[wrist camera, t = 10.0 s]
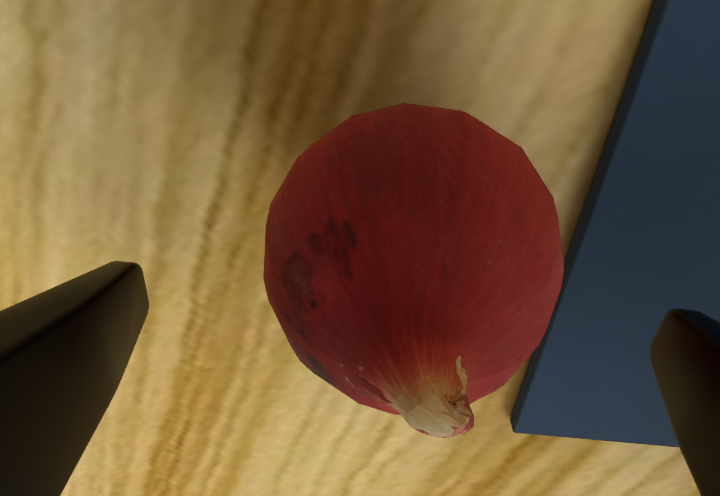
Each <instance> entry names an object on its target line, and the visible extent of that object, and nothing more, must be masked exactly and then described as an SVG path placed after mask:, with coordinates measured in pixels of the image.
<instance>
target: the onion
mask: <svg viewBox="0 0 720 496" xmlns="http://www.w3.org/2000/svg"><path fill="white" fill-rule="evenodd" d="M563 274H564V263H563V254H562V246H561V238H560V230H559V222H558V216H557V212H556V207H555V203H554V199H553V196H552V195H551V193H550V192H549V190H548V188H547V187H546V185H545V184H544V182H543V181H542V179H541V177H540V176H539V174H538V173H537V171H536V169H535V168H534V166H533V165H532V163H531V162H530V160H529V158H528V157H527V155H526V154H525V152H524V151H523V149H522V148H521V147H520V146H518V145H517V144H515V143H513V142H512V141H510V140H509V139H507V138H506V137H504V136H503V135H501V134H499V133H498V132H496V131H495V130H493V129H492V128H490V127H489V126H487V125H485V124H484V123H482V122H481V121H479V120H478V119H476V118H475V117H473V116H471V115H470V114H468V113H466V112H463V111H459V110H451V109H444V108H437V107H429V106H422V105H414V104H407V103H403V104H398V105H394V106H390V107H386V108H382V109H378V110H374V111H370V112H366V113H362V114H358V115H354V116H351V117H350V118H348V119H347V120H346V121H344V122H343V123H341V124H340V125H338V126H337V127H336V128H334V129H333V130H331V131H330V132H328V133H327V134H326V135H324V136H323V137H321V138H320V139H319V140H317V141H316V142H314V143H313V144H311V145H310V146H309V147H308V148H307V149H306V150H305V151H304V152H303V153H302V154H301V155H300V156H298V158H297V159H296V161H295V163H294V164H293V166H292V168H291V170H290V171H289V173H288V175H287V176H286V178H285V180H284V182H283V183H282V185H281V187H280V189H279V190H278V192H277V194H276V195H275V197H274V199H273V201H272V202H271V204H270V209H269V214H268V218H267V223H266V236H265V258H264V283H265V287H266V291H267V295H268V300H269V302H270V304H271V306H272V308H273V310H274V312H275V314H276V316H277V319H278V321H279V323H280V325H281V327H282V329H283V331H284V333H285V335H286V337H287V339H288V341H289V343H290V345H291V347H292V349H293V350H294V352H295V353H296V355H297V357H298V358H299V360H300V361H301V362H302V363H303V364H304V365H305V366H306V367H308V368H309V369H310V370H311V371H312V372H313V373H314V374H316V375H317V376H319V377H320V378H322V379H323V380H325V381H326V382H328V383H329V384H331V385H332V386H334V387H335V388H337V389H338V390H340V391H341V392H343V393H344V394H346V395H347V396H348V397H350V398H351V399H353V400H354V401H356V402H357V403H359V404H362V405H366V406H369V407H372V408H375V409H378V410H381V411H385V412H388V413H391V414H398V415H402V417H403V418H404V419H405V420H406V421H407V423H408V424H409V425H410V426H411V427H412V428H414V429H416V430H418V431H420V432H421V433H425V434H428V435H431V436H435V437H440V438H446V437H452V436H457V435H459V434H463V435H465V434H466V433H467V432H468V431H469V430H470V429H471V428H472V427H473V425H474V415H473V413H472V410H471V408H470V406H469V404H470V403H472V402H474V401H476V400H478V399H480V398H482V397H484V396H486V395H488V394H490V393H492V392H494V391H496V390H497V389H498V388H500V387H501V386H503V385H504V384H505V383H506V382H507V381H508V379H509V378H510V377H511V376H512V375H513V374H514V373H515V372H516V370H517V369H518V368H519V367H520V366H521V365H522V364H523V363H524V361H525V360H526V359H527V358H528V357H529V356H530V355H531V354H532V352H533V351H534V350H535V349H536V348H537V347H538V346H539V344H540V342H541V340H542V338H543V336H544V334H545V332H546V329H547V327H548V324H549V321H550V318H551V315H552V312H553V310H554V307H555V304H556V301H557V298H558V295H559V293H560V290H561V285H562V279H563Z"/></svg>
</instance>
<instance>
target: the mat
mask: <svg viewBox="0 0 720 496" xmlns="http://www.w3.org/2000/svg"><path fill="white" fill-rule="evenodd" d="M672 309H686V310H696V311H699V312H702V313H703V314H705V315H707V316H709V317H711V318H712V319H714V320H716V321H718V322H720V0H655V2H654V4H653V7H652V10H651V13H650V16H649V19H648V22H647V25H646V28H645V31H644V33H643V36H642V39H641V42H640V45H639V48H638V51H637V54H636V57H635V59H634V62H633V65H632V68H631V71H630V74H629V77H628V80H627V83H626V86H625V88H624V91H623V94H622V97H621V100H620V103H619V106H618V109H617V112H616V114H615V117H614V120H613V123H612V126H611V129H610V132H609V135H608V138H607V141H606V143H605V146H604V149H603V152H602V155H601V158H600V161H599V164H598V167H597V170H596V172H595V175H594V178H593V181H592V184H591V187H590V190H589V193H588V196H587V198H586V201H585V204H584V207H583V210H582V213H581V216H580V219H579V222H578V225H577V227H576V230H575V233H574V236H573V239H572V242H571V245H570V248H569V251H568V253H567V256H566V259H565V262H564V274H563V279H562V285H561V290H560V293H559V295H558V298H557V301H556V304H555V307H554V310H553V312H552V315H551V318H550V321H549V324H548V327H547V329H546V332H545V334H544V336H543V338H542V340H541V342H540V344H539V346H538V347H537V348H536V349H535V350H534V352H533V355H532V358H531V361H530V364H529V366H528V369H527V372H526V375H525V378H524V381H523V384H522V387H521V390H520V392H519V395H518V398H517V401H516V404H515V407H514V410H513V413H512V416H511V419H510V421H511V425H512V429H513V432H515V433H525V434H537V435H548V436H559V437H570V438H581V439H593V440H604V441H615V442H626V443H637V444H649V445H660V446H671V447H679V444H678V442H677V439H676V437H675V434H674V431H673V428H672V426H671V423H670V419H669V416H668V413H667V410H666V407H665V404H664V401H663V398H662V395H661V392H660V389H659V386H658V383H657V380H656V377H655V374H654V371H653V367H652V364H651V361H650V357H649V348H650V344H651V342H652V340H653V338H654V336H655V334H656V332H657V330H658V328H659V326H660V324H661V322H662V320H663V318H664V316H665V314H666V313H667V312H668V311H669V310H672Z"/></svg>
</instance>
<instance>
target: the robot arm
mask: <svg viewBox="0 0 720 496" xmlns="http://www.w3.org/2000/svg"><path fill="white" fill-rule="evenodd" d="M148 309H149V300H148V295H147V290H146V285H145V280H144V276H143V271H142V268H141V267H140V265H139V264H137V263H134V262H123V261H113V262H110V263H108V264H106V265H103V266H101V267H99V268H97V269H94V270H92V271H90V272H88V273H85V274H83V275H81V276H79V277H76V278H74V279H72V280H69V281H67V282H65V283H63V284H60V285H58V286H56V287H54V288H51V289H49V290H47V291H45V292H42V293H40V294H38V295H36V296H33V297H31V298H29V299H27V300H24V301H22V302H20V303H18V304H15V305H13V306H11V307H9V308H6V309H4V310H2V311H0V496H60V495H61V493H62V491H63V489H64V487H65V486H66V484H67V482H68V480H69V478H70V476H71V474H72V473H73V471H74V469H75V467H76V465H77V463H78V461H79V460H80V458H81V456H82V454H83V452H84V450H85V449H86V447H87V445H88V443H89V441H90V439H91V437H92V436H93V434H94V432H95V430H96V428H97V426H98V424H99V423H100V421H101V419H102V417H103V415H104V413H105V411H106V410H107V408H108V406H109V404H110V402H111V400H112V398H113V396H114V394H115V392H116V390H117V388H118V386H119V383H120V381H121V379H122V376H123V374H124V371H125V369H126V366H127V364H128V362H129V359H130V357H131V354H132V352H133V349H134V347H135V344H136V342H137V339H138V337H139V334H140V332H141V329H142V327H143V324H144V322H145V319H146V317H147V314H148ZM649 357H650V361H651V364H652V367H653V371H654V374H655V377H656V380H657V383H658V386H659V389H660V392H661V395H662V398H663V401H664V404H665V407H666V410H667V413H668V416H669V419H670V423H671V426H672V428H673V431H674V434H675V437H676V439H677V442H678V444H679V447H680V449H681V452H682V454H683V456H684V459H685V461H686V463H687V465H688V467H689V470H690V472H691V474H692V476H693V479H694V481H695V483H696V485H697V488H698V490H699V492H700V494H701V496H720V322H718V321H716V320H714V319H712V318H711V317H709V316H707V315H705V314H703V313H702V312H699V311H696V310H686V309H672V310H669V311H668V312H667V313H666V314H665V316H664V318H663V320H662V322H661V324H660V326H659V328H658V330H657V332H656V334H655V336H654V338H653V340H652V342H651V344H650V348H649Z"/></svg>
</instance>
